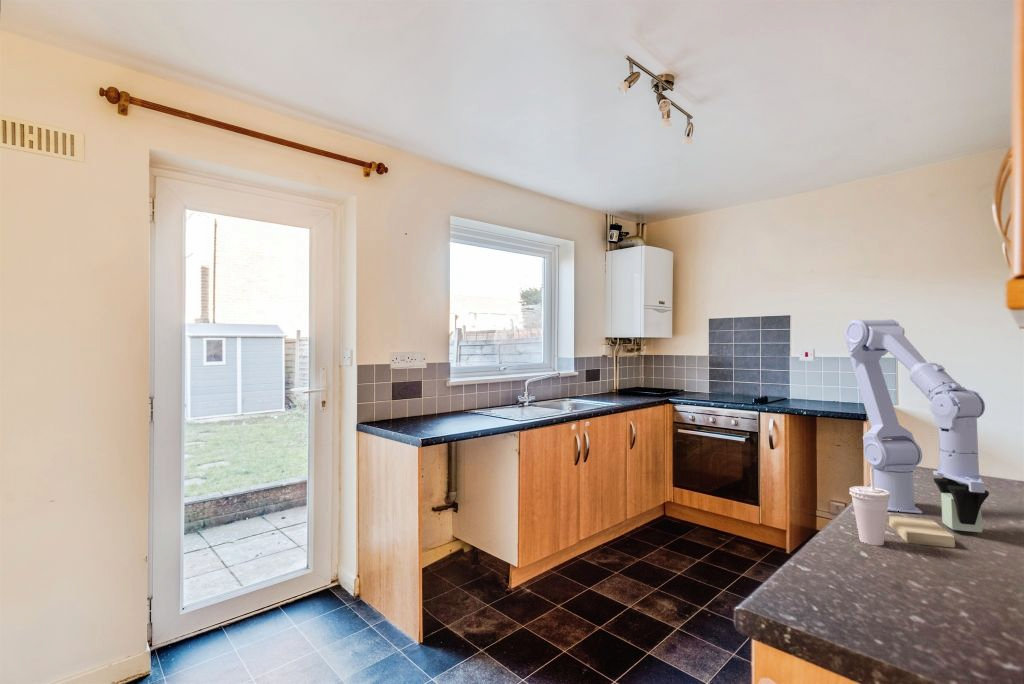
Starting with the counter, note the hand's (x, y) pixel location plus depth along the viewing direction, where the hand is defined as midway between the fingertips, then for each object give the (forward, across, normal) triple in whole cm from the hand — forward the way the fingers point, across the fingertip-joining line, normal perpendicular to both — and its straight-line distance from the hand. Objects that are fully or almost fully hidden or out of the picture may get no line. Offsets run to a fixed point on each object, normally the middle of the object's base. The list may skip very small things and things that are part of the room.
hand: (961, 519), depth 96 cm
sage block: (+2, 0, 0) cm, 2 cm away
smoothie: (+2, +12, -18) cm, 22 cm away
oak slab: (+2, +6, -8) cm, 10 cm away
